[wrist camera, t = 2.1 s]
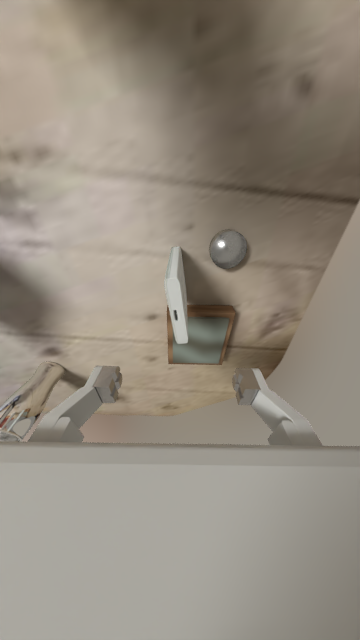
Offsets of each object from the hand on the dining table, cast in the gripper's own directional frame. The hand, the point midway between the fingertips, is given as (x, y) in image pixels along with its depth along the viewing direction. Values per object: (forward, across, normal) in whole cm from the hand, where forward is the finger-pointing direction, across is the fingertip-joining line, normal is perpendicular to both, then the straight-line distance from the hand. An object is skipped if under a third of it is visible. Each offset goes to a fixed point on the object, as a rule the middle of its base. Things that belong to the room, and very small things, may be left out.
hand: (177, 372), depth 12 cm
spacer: (+19, -7, -4) cm, 21 cm away
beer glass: (+20, +32, +26) cm, 45 cm away
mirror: (+19, -4, +12) cm, 23 cm away
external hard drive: (+19, 0, 0) cm, 19 cm away
